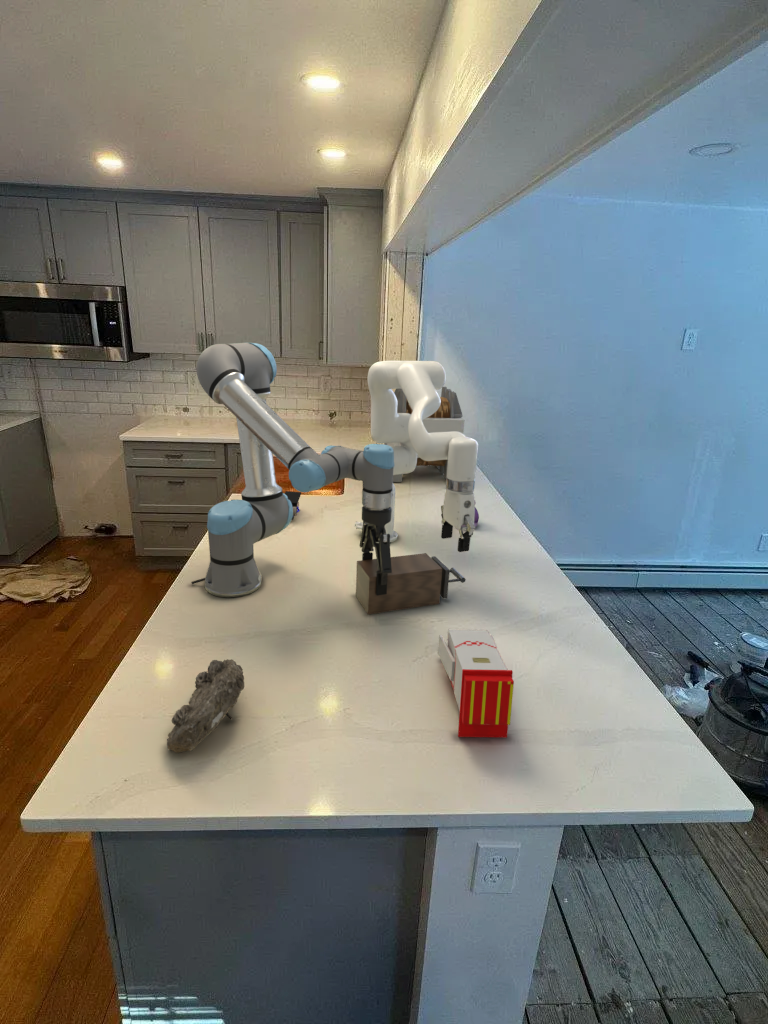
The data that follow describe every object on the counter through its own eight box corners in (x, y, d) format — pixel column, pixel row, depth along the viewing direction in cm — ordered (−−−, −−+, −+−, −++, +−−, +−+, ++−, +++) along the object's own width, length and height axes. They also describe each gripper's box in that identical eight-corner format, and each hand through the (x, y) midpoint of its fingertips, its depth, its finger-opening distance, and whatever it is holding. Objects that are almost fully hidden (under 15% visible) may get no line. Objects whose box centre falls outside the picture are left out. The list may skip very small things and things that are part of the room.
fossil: (192, 660, 117) (244, 628, 112) (224, 691, 120) (276, 661, 115) (142, 746, 98) (202, 712, 93) (182, 779, 101) (242, 748, 96)
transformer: (382, 463, 289) (386, 382, 275) (445, 464, 293) (451, 384, 279) (390, 482, 257) (394, 392, 243) (460, 483, 261) (468, 394, 247)
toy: (488, 613, 130) (523, 677, 101) (484, 667, 133) (517, 744, 104) (435, 612, 130) (455, 676, 101) (432, 666, 133) (451, 743, 103)
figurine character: (297, 525, 206) (302, 507, 220) (296, 507, 203) (301, 489, 216) (278, 525, 206) (284, 507, 220) (278, 506, 203) (284, 489, 216)
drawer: (451, 580, 165) (453, 553, 162) (466, 595, 157) (469, 567, 154) (369, 591, 156) (370, 563, 153) (381, 607, 148) (382, 578, 145)
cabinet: (423, 586, 163) (426, 552, 159) (439, 603, 154) (442, 568, 150) (355, 595, 156) (356, 560, 152) (367, 614, 147) (369, 577, 143)
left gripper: (408, 520, 134) (403, 603, 141) (375, 491, 154) (372, 564, 162) (378, 523, 131) (375, 607, 139) (349, 493, 152) (347, 567, 159)
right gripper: (489, 493, 143) (482, 555, 149) (457, 474, 159) (452, 531, 164) (463, 495, 141) (457, 558, 147) (433, 476, 156) (428, 534, 162)
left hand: (373, 584), depth 150 cm, fingers open, 11 cm apart
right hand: (454, 544), depth 155 cm, fingers open, 9 cm apart
